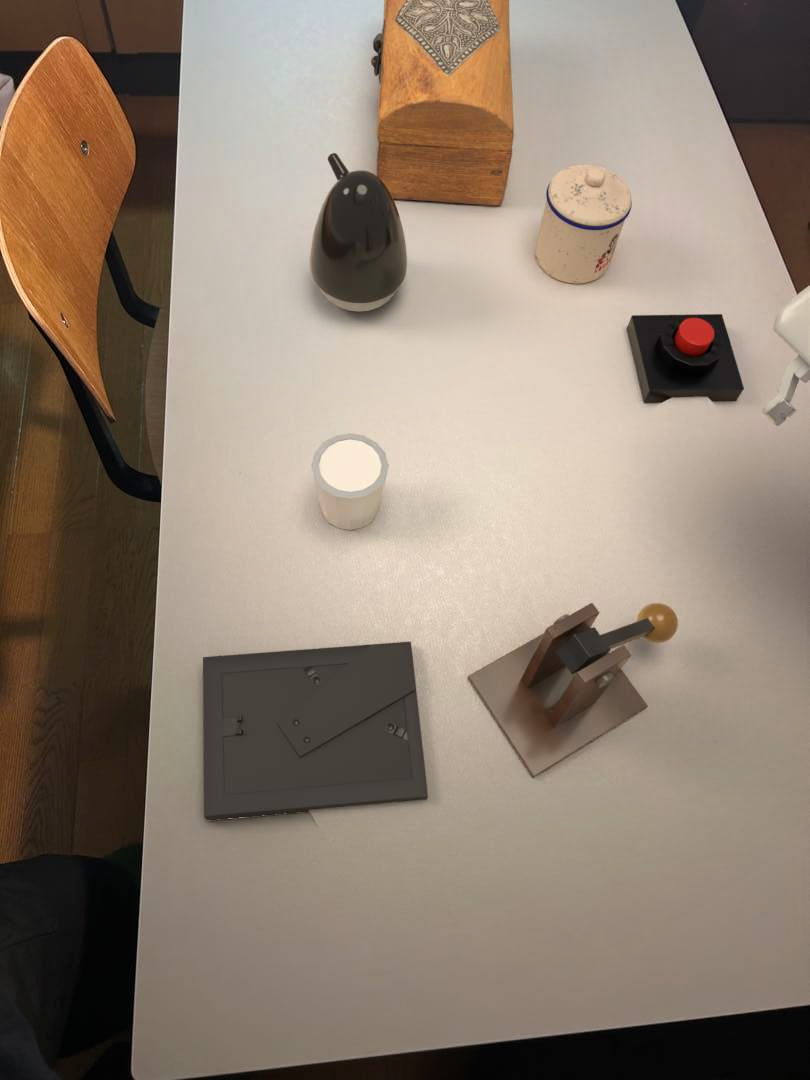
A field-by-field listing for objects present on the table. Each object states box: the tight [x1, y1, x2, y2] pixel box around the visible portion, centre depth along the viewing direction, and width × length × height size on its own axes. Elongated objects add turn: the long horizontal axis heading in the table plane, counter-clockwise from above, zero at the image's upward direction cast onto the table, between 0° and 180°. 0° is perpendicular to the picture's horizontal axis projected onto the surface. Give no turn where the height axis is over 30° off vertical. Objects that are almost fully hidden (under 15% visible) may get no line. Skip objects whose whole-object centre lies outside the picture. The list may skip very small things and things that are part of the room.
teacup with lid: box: [534, 164, 633, 285], centre depth 102 cm, size 12×9×12 cm
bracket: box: [467, 602, 648, 779], centre depth 76 cm, size 12×10×13 cm
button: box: [674, 318, 714, 356], centre depth 96 cm, size 4×4×2 cm
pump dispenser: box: [309, 152, 408, 312], centre depth 95 cm, size 10×10×15 cm
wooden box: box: [370, 0, 515, 206], centre depth 110 cm, size 30×16×14 cm, turn 178°
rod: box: [556, 602, 679, 674], centre depth 75 cm, size 14×3×3 cm, turn 121°
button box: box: [626, 313, 745, 404], centre depth 98 cm, size 10×10×4 cm
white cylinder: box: [311, 433, 389, 531], centre depth 86 cm, size 7×7×7 cm
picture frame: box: [202, 641, 429, 821], centre depth 78 cm, size 13×2×18 cm
